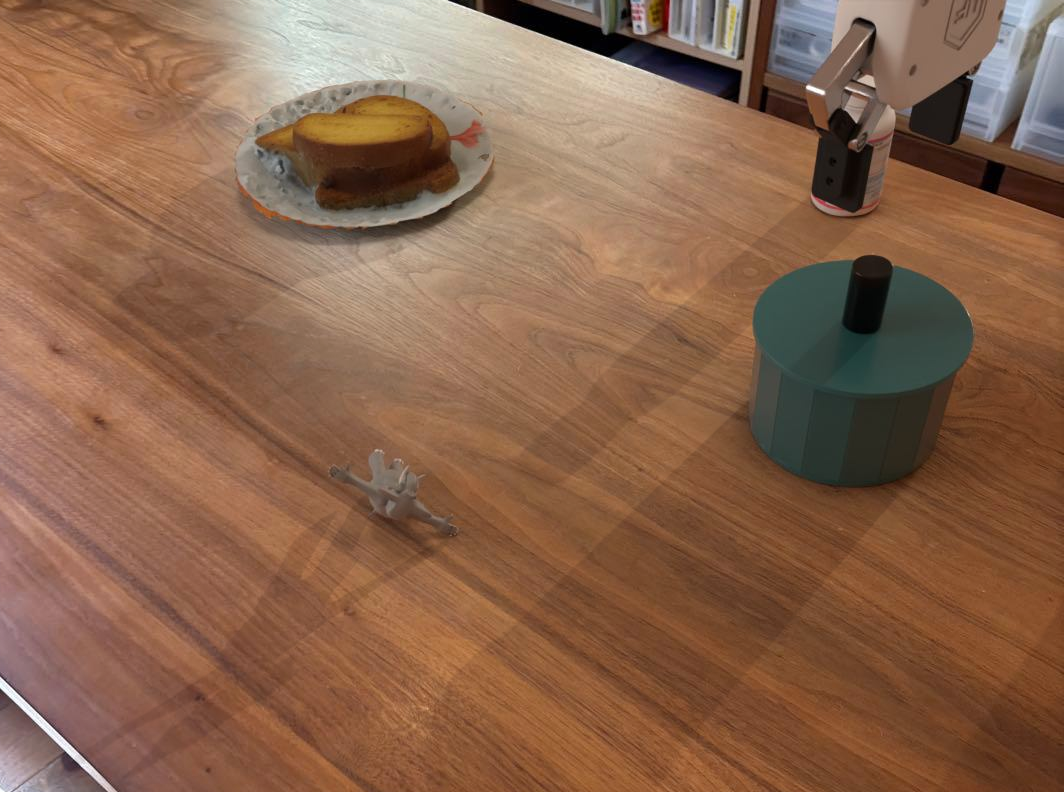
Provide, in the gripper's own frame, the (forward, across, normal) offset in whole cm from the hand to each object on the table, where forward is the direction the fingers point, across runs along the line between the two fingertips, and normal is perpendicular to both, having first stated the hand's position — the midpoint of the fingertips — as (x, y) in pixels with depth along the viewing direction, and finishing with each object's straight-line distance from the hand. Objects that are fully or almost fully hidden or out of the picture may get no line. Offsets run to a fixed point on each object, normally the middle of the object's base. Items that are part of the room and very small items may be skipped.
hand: (885, 168), depth 66 cm
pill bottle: (+20, +24, +17) cm, 36 cm away
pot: (+20, 0, 0) cm, 20 cm away
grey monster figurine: (+21, -29, +17) cm, 39 cm away
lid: (+12, 0, 0) cm, 12 cm away
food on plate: (+21, -1, +55) cm, 58 cm away
